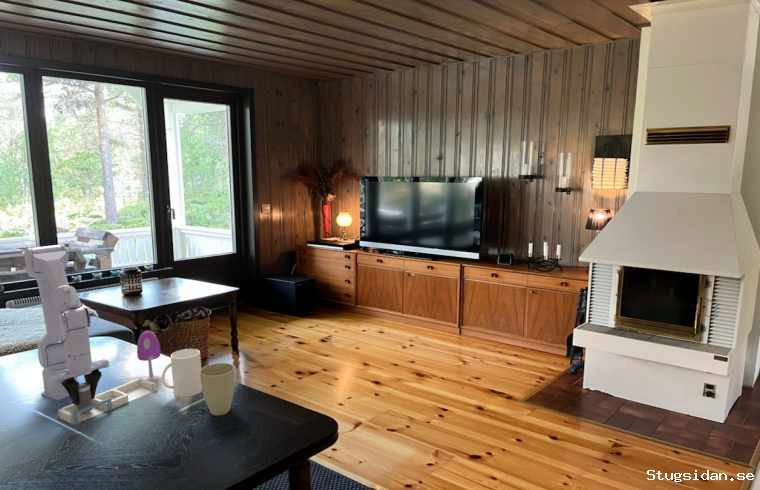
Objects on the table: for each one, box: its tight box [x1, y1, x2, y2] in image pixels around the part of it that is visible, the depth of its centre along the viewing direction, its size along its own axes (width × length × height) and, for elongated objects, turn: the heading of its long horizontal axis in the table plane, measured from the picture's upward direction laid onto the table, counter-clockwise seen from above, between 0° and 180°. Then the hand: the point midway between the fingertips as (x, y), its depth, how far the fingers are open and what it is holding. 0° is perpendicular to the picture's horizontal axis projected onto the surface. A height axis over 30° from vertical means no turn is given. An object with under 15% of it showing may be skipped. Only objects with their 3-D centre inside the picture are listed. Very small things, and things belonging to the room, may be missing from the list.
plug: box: [77, 382, 93, 413], centre depth 141 cm, size 4×4×7 cm
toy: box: [136, 330, 161, 376], centre depth 166 cm, size 7×7×15 cm
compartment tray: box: [56, 377, 158, 426], centre depth 147 cm, size 8×24×4 cm, turn 147°
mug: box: [161, 348, 203, 398], centre depth 153 cm, size 12×8×12 cm
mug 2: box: [200, 362, 236, 416], centre depth 143 cm, size 11×10×12 cm
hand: (83, 401), depth 141 cm, fingers closed on plug, 3 cm apart
